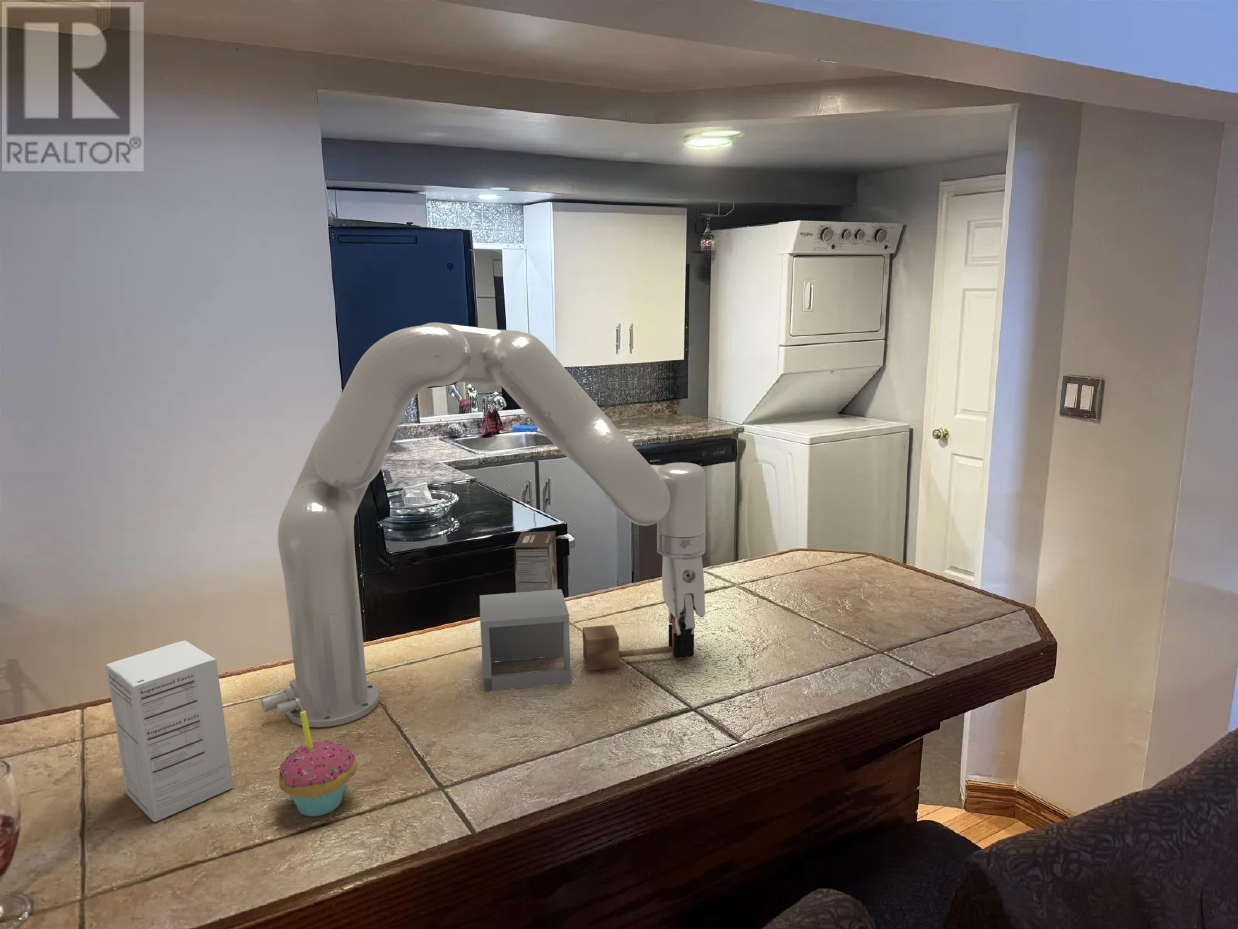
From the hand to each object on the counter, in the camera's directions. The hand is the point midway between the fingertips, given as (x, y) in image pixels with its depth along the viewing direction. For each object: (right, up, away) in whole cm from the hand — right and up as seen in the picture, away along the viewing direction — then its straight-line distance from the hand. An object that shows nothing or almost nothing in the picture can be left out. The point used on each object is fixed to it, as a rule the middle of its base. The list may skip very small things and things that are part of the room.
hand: (681, 651), depth 134 cm
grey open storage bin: (-25, -2, -4) cm, 25 cm away
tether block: (-7, -1, -1) cm, 7 cm away
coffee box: (-24, +1, +14) cm, 28 cm away
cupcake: (-45, -10, -37) cm, 59 cm away
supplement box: (-63, -10, -33) cm, 72 cm away
